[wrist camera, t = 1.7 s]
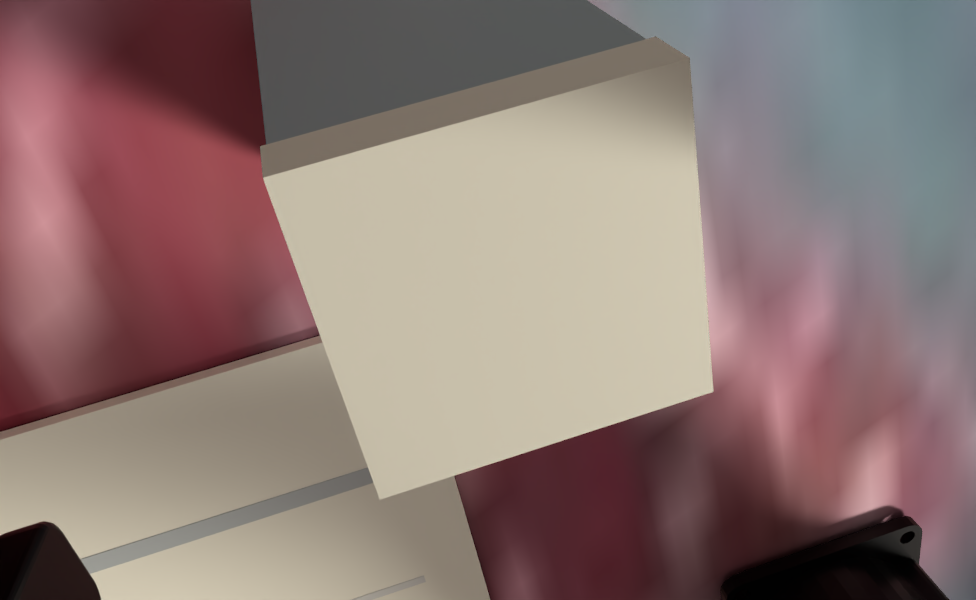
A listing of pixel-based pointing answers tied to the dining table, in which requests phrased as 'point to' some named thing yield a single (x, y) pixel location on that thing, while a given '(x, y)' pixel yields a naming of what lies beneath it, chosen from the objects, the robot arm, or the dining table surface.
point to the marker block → (486, 220)
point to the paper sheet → (235, 493)
